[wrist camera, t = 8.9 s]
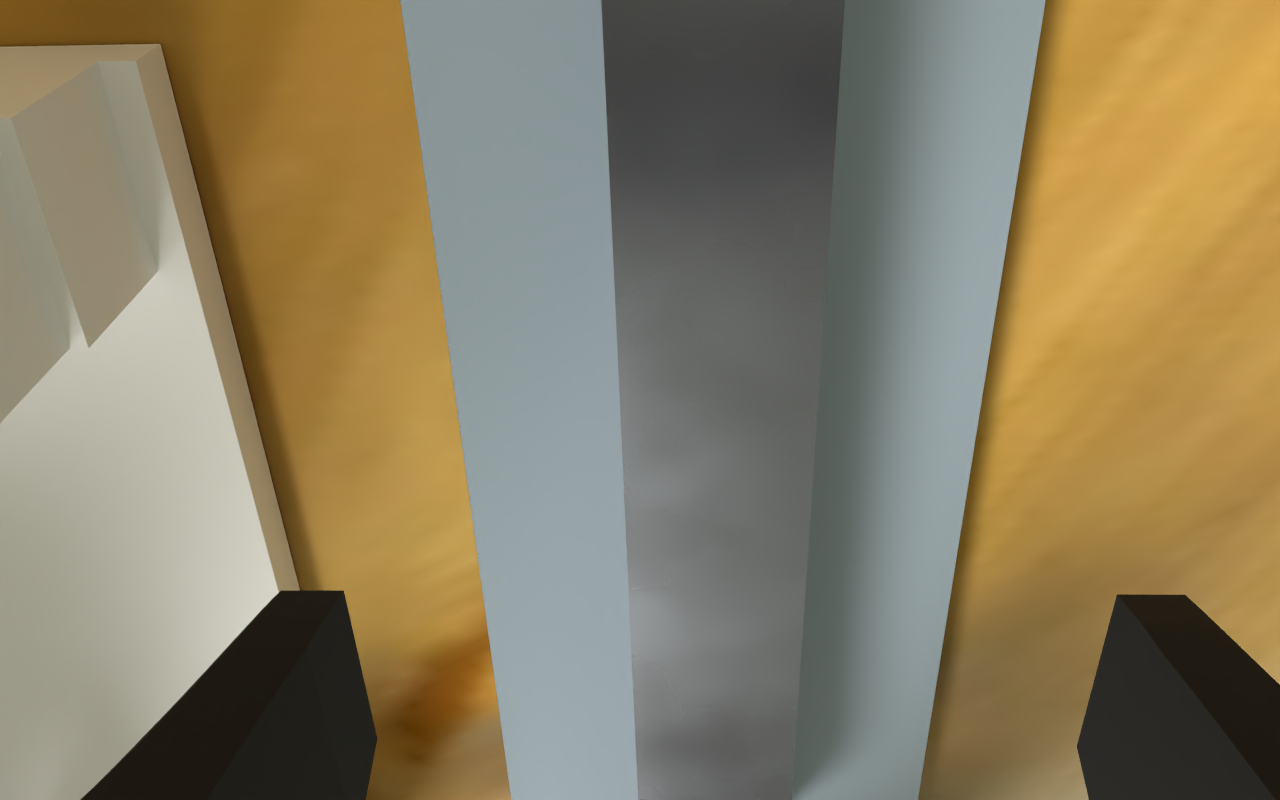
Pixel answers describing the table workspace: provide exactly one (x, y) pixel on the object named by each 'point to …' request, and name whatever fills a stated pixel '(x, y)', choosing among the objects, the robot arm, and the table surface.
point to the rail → (719, 369)
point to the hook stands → (114, 422)
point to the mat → (589, 380)
